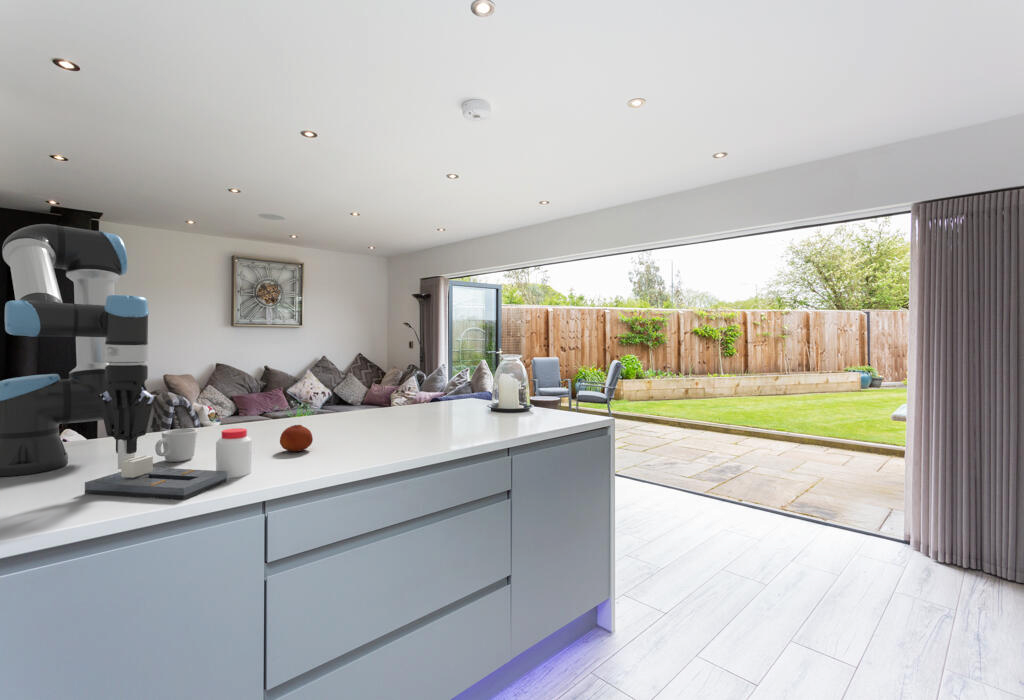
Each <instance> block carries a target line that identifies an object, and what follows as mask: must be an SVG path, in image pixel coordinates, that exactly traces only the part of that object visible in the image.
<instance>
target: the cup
mask: <svg viewBox="0 0 1024 700" xmlns="http://www.w3.org/2000/svg"><path fill="white" fill-rule="evenodd" d="M197 436H198V430H197V429H196V428H176V429H175V428H174V429H167V430H165V431H163V432H162V433H161V439H158V441H156V443H155V446H154V449H155V453H156V455H157V456H158V457H164V459H165V460H166V461H167V462H170V463H177V462H178V463H179V462H185V461H190V460H191V459H193V458H194V456H195V451H196V443H197ZM162 445H163V446H162ZM162 447H163V452H162Z"/></svg>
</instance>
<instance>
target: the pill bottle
mask: <svg viewBox="0 0 1024 700" xmlns="http://www.w3.org/2000/svg"><path fill="white" fill-rule="evenodd" d="M247 433H248V429H247V428H239V427H238V428H235V427H234V428H228V429H223V430H221V437H220V438H218V439H217V441H216V442H215V445H216V446H215V447H216V448H215V471H227V479H233V478H240V477H245V476H249V475H250V474H251V473H252V454H253V453H252V446H253V443H252V442H253V441H252V438H251V437H250V436H248V434H247Z"/></svg>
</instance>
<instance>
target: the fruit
mask: <svg viewBox="0 0 1024 700" xmlns="http://www.w3.org/2000/svg"><path fill="white" fill-rule="evenodd" d="M313 441H314V439H313V434H312V432H311V430H310V429H308V428H307V427H305V426H303V425H302V424H294V425H290V426H288V427H286V429H284V430H283V431H282V433H280V438H279V445H280V446H281V447H282V449H284V450H286V451H289V452H293V453H295V452H301V451H305V450H306V449H308V448H309V447H311V445H312V443H313Z"/></svg>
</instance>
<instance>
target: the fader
mask: <svg viewBox="0 0 1024 700" xmlns="http://www.w3.org/2000/svg"><path fill="white" fill-rule="evenodd" d="M153 458H154V456H149V455H138V456H135V458H131V459H127V460H124V461H121V469H120V472H121V477H132V478H134V477H135V478H149V475H143V474H146V473H149V472H152V471H153V467H154V464H153V463H154V462H153V461H154V459H153Z"/></svg>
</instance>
